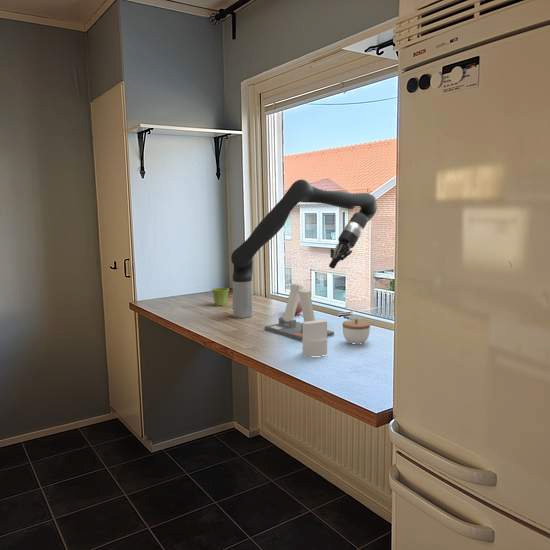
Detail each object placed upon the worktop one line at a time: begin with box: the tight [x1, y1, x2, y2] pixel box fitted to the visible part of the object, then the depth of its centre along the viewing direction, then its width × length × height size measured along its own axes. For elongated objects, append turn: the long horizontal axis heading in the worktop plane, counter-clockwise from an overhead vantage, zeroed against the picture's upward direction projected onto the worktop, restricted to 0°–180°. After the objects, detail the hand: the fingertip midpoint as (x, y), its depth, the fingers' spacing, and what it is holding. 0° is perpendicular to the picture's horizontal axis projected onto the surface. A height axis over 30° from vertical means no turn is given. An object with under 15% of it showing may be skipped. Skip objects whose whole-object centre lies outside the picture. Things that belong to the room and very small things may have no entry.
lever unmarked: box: [282, 283, 304, 324], centre depth 229 cm, size 2×5×17 cm, turn 39°
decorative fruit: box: [286, 296, 303, 315], centre depth 257 cm, size 9×8×10 cm
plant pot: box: [211, 287, 230, 307], centre depth 280 cm, size 9×9×9 cm
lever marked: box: [298, 288, 316, 322], centre depth 215 cm, size 2×5×17 cm, turn 38°
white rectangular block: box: [301, 319, 328, 357], centre depth 192 cm, size 9×9×12 cm
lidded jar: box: [342, 318, 371, 345], centre depth 207 cm, size 11×11×9 cm
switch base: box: [264, 316, 335, 342], centre depth 223 cm, size 16×26×4 cm, turn 39°
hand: (331, 267), depth 222 cm, fingers closed
